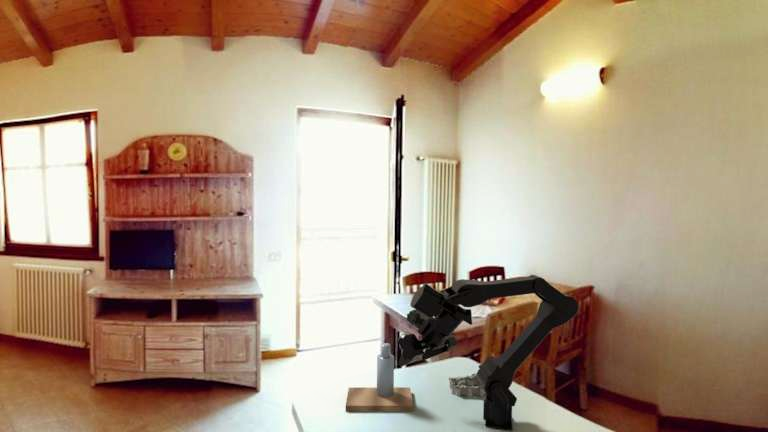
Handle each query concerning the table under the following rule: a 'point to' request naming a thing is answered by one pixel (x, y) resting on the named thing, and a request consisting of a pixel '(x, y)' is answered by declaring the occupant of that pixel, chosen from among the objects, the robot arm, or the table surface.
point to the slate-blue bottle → (385, 372)
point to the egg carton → (464, 389)
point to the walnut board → (379, 400)
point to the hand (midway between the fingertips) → (411, 362)
